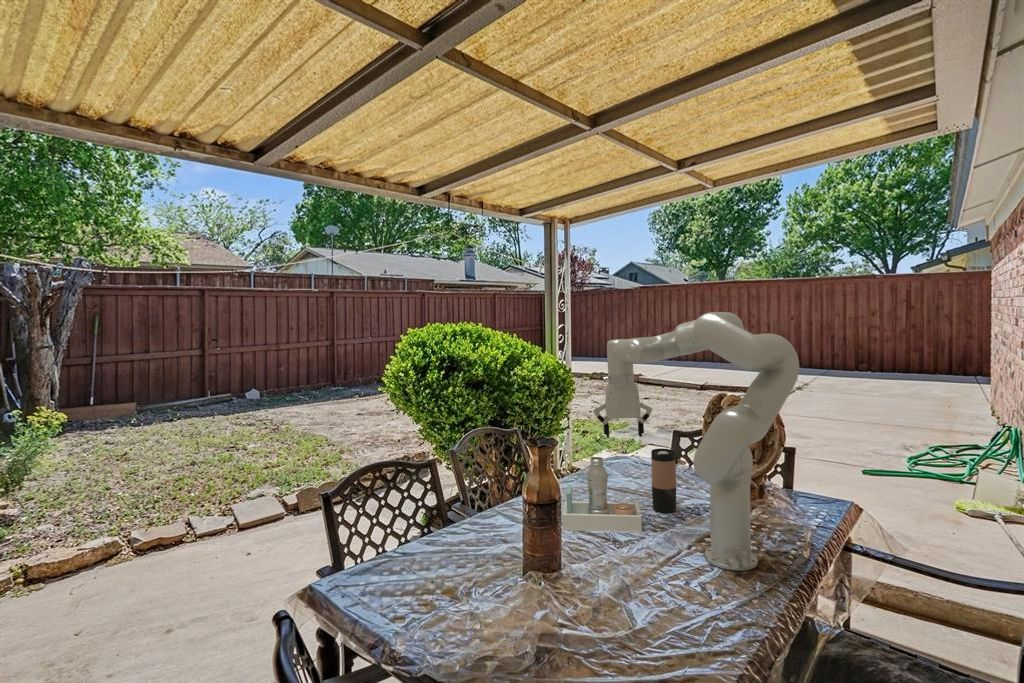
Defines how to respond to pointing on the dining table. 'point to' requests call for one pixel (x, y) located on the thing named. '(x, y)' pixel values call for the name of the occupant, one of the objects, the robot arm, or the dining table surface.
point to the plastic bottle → (597, 487)
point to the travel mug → (663, 480)
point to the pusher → (569, 499)
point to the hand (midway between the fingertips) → (624, 436)
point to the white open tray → (601, 519)
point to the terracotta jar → (623, 509)
